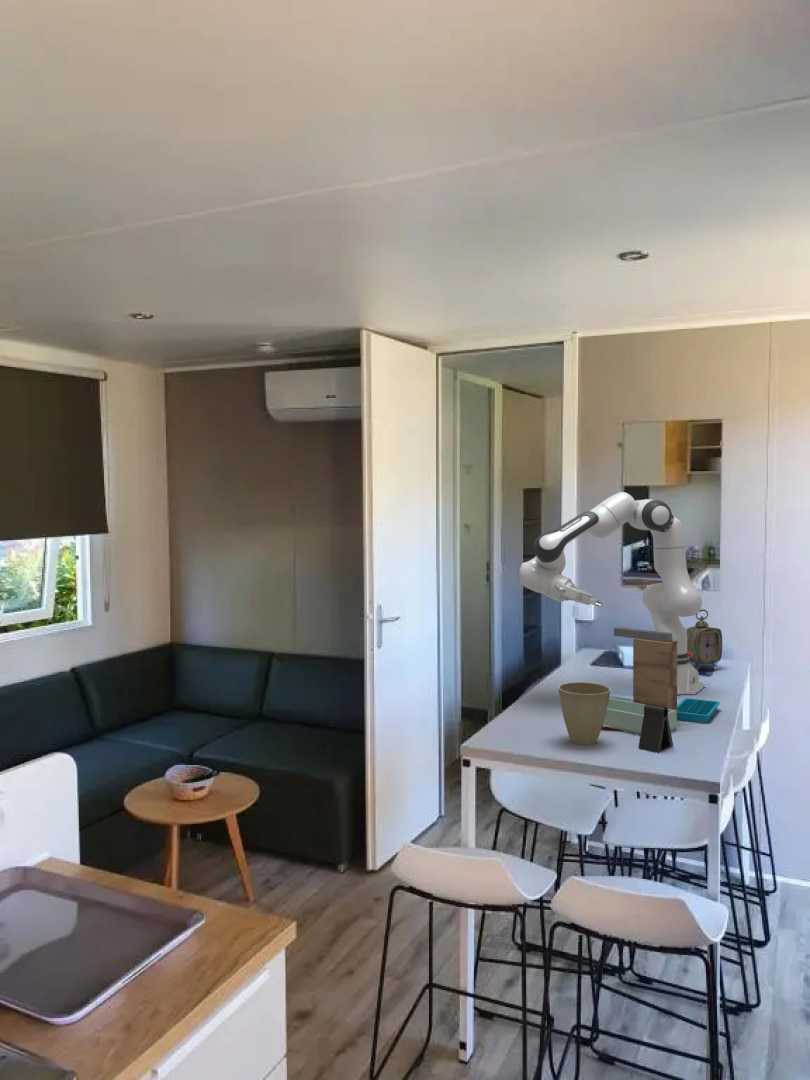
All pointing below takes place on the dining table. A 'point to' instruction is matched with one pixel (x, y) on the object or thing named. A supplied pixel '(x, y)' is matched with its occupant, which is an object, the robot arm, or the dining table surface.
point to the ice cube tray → (696, 710)
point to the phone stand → (655, 729)
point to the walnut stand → (655, 673)
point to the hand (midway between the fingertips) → (598, 603)
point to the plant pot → (584, 710)
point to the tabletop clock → (704, 642)
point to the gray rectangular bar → (643, 634)
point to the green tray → (631, 716)
